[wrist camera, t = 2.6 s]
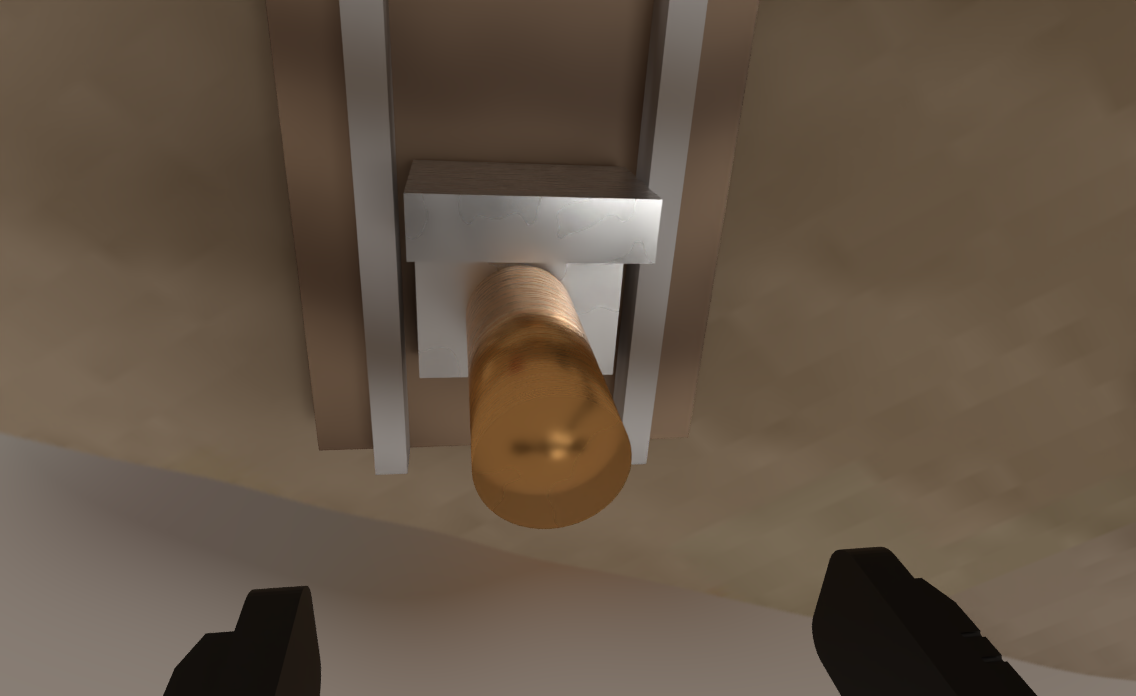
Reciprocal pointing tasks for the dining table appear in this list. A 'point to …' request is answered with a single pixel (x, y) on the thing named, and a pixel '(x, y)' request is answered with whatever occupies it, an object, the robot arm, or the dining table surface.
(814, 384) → the dining table surface
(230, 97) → the dining table surface
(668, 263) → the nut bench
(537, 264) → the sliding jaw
